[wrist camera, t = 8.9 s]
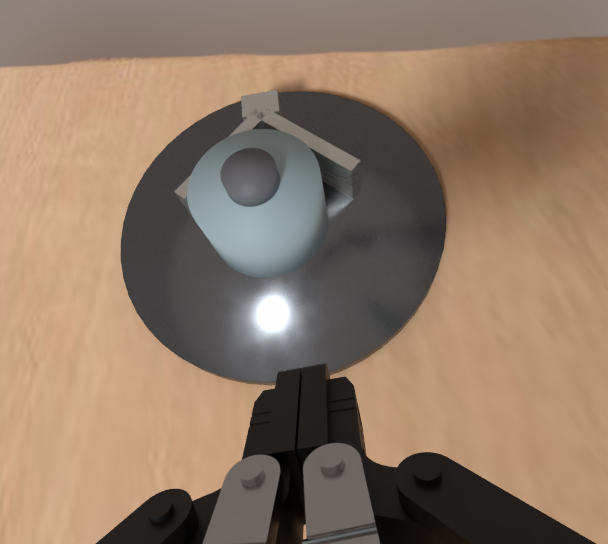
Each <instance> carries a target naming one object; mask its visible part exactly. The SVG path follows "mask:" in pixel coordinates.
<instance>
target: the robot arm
mask: <svg viewBox="0 0 608 544" xmlns="http://www.w3.org/2000/svg"><path fill="white" fill-rule="evenodd" d="M305 524H306V532H307V539H304V540H303V525H305ZM96 544H596V543H594V542H592V541H591V540H589V539H587V538H585V537H584V536H582V535H580V534H579V533H577V532H575V531H573V530H572V529H570V528H568V527H566V526H565V525H563V524H561V523H560V522H558V521H556V520H554V519H553V518H551V517H549V516H548V515H546V514H544V513H542V512H541V511H539V510H537V509H535V508H534V507H532V506H530V505H529V504H527V503H525V502H523V501H522V500H520V499H518V498H517V497H515V496H513V495H511V494H510V493H508V492H506V491H504V490H503V489H501V488H499V487H498V486H496V485H494V484H492V483H491V482H489V481H487V480H486V479H484V478H482V477H480V476H479V475H477V474H475V473H473V472H472V471H470V470H468V469H467V468H465V467H463V466H461V465H460V464H458V463H456V462H455V461H453V460H451V459H449V458H448V457H446V456H443V455H441V454H437V453H431V452H423V453H417V454H414V455H411V456H409V457H407V458H406V459H404V460H403V461H402V462H401V463H400V464H399V466H398V467H397V468H396V467H389V466H383V465H380V464H377V463H375V462H373V461H372V460H370V459H369V458H368V457H367V456H366V449H365V442H364V434H363V427H362V422H361V417H360V413H359V408H358V403H357V399H356V394H355V389H354V385H353V384H352V383H351V382H350V381H349V380H348V379H347V378H346V377H340V378H334V379H330V375H329V370H328V367H327V364H326V363H324V364H318V365H312V366H306V367H303V369H302V368H295V369H290V370H284V371H278V373H277V379H276V386H275V389H270V390H264V391H263V392H262V393H261V395H260V396H259V397H258V399H257V400H256V401H255V403H254V407H253V412H252V417H251V421H250V427H249V430H248V435H247V439H246V444H245V448H244V453H243V457H242V460H241V461H239V462H238V463H237V464H235V465H234V466H233V467H232V468H231V469H230V470H229V472H228V473H227V475H226V477H225V480H224V483H223V486H222V488H221V489H219V490H217V491H215V492H213V493H211V494H208V495H206V496H203V497H201V498H199V499H196V500H194V501H192V499H191V497H190V495H189V494H188V493H187V492H186V491H184V490H182V489H169V490H165V491H162V492H160V493H158V494H156V495H154V496H152V497H151V498H149V499H148V500H147V501H146V502H144V503H143V504H142V505H141V506H140V507H139V508H137V509H136V510H135V511H134V512H133V513H131V514H130V515H129V516H128V517H127V518H126V519H124V520H123V521H122V522H121V523H120V524H118V525H117V526H116V527H115V528H114V529H113V530H111V531H110V532H109V533H108V534H107V535H106V536H104V537H103V538H102V539H101V540H100V541H98V542H97V543H96Z"/></svg>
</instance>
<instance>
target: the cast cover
mask: <svg viewBox="0 0 608 544" xmlns="http://www.w3.org/2000/svg"><path fill="white" fill-rule="evenodd" d="M187 200H188V206H189V209H190V212H191V214H192V216H193V218H194V220H195V221H196V223H197V224H198V226H199V227H200V228H201V230H202V231H203V233H204V234H205V235H206V237H207V238H208V240H209V241H210V242H211V244H212V245H213V247H214V248H215V250H216V251H217V252H218V254H219V255H220V257H221V258H222V259H223V260H224V262H225V263H226V264H228V265H229V266H230V267H231V268H233V269H234V270H236V271H238V272H240V273H242V274H245V275H247V276H252V277H258V278H272V277H278V276H282V275H285V274H288V273H290V272H293V271H295V270H297V269H298V268H300V267H302V266H303V265H304V264H306V263H307V262H308V261H309V260H310V259H311V258H313V257H314V255H315V254H316V253H317V252H318V250H319V249H320V247H321V245H322V244H323V241H324V239H325V237H326V233H327V229H328V213H327V207H326V201H325V195H324V189H323V183H322V177H321V171H320V166H319V163H318V160H317V158H316V157H315V155H314V153H313V152H312V150H311V149H310V148H309V147H308V146H307V145H306V144H305V143H304V142H303V141H301V140H300V139H298V138H297V137H295V136H293V135H291V134H288V133H286V132H282V131H278V130H272V129H254V130H248V131H243V132H240V133H237V134H234V135H232V136H229V137H227V138H225V139H223V140H222V141H220V142H219V143H217V144H216V145H214V146H213V147H212V148H211V149H209V150H208V151H207V152H206V153H205V154H204V155H203V156H202V158H201V159H200V160H199V161H198V163H197V164H196V166H195V168H194V169H193V172H192V174H191V176H190V179H189V183H188V189H187Z"/></svg>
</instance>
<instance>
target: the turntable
mask: <svg viewBox="0 0 608 544" xmlns="http://www.w3.org/2000/svg"><path fill="white" fill-rule="evenodd" d="M254 129H272V130H278V131H282V132H286V133H288V134H291V135H293V136H295V137H297V138H298V139H300V140H301V141H303V142H304V143H305V144H306V145H307V146H308V147H309V148H310V149H311V150H312V152H313V153H314V155H315V157H316V158H317V160H318V163H319V166H320V171H321V177H322V183H323V189H324V195H325V201H326V207H327V213H328V229H327V233H326V237H325V239H324V241H323V244H322V245H321V247H320V249H319V250H318V252H317V253H316V254H315V255H314V257H313V258H311V259H310V260H309V261H308V262H307V263H306V264H304V265H303V266H302V267H300V268H298V269H297V270H295V271H293V272H290V273H288V274H285V275H282V276H278V277H272V278H258V277H252V276H247V275H245V274H242V273H240V272H238V271H236V270H234V269H233V268H231V267H230V266H229V265H228V264H226V263H225V262H224V260H223V259H222V258H221V257H220V255H219V254H218V252H217V251H216V250H215V248H214V247H213V245H212V244H211V242H210V241H209V240H208V238H207V237H206V235H205V234H204V233H203V231H202V230H201V228H200V227H199V226H198V224H197V223H196V221H195V220H194V218H193V216H192V214H191V212H190V209H189V206H188V200H187V189H188V183H189V179H190V176H191V174H192V172H193V169H194V168H195V166H196V164H197V163H198V161H199V160H200V159H201V158H202V156H203V155H204V154H205V153H206V152H207V151H208V150H209V149H211V148H212V147H213V146H214V145H216V144H217V143H219V142H220V141H222V140H223V139H225V138H227V137H229V136H232V135H234V134H237V133H240V132H243V131H248V130H254ZM445 232H446V215H445V204H444V199H443V194H442V189H441V186H440V184H439V181H438V178H437V175H436V172H435V170H434V169H433V167H432V165H431V163H430V161H429V159H428V157H427V156H426V154H425V153H424V152H423V150H422V149H421V148H420V146H419V145H418V144H417V142H416V141H415V140H414V139H413V138H412V137H411V136H410V135H409V134H408V133H407V132H406V131H405V130H404V129H403V128H402V127H400V126H399V125H398V124H397V123H395V122H394V121H393V120H391V119H390V118H389V117H387V116H385V115H384V114H382V113H380V112H378V111H377V110H375V109H373V108H371V107H369V106H366V105H364V104H362V103H359V102H357V101H354V100H350V99H347V98H344V97H340V96H335V95H330V94H324V93H315V92H282V93H278V91H277V90H273V91H268V92H262V93H257V94H252V95H246V96H241V101H240V102H237V103H234V104H231V105H228V106H226V107H224V108H222V109H220V110H217V111H215V112H213V113H211V114H209V115H208V116H206V117H204V118H202V119H201V120H199V121H197V122H196V123H194V124H193V125H192V126H190V127H189V128H187V129H186V130H185V131H183V132H182V133H181V134H180V135H178V136H177V137H176V138H175V139H174V140H173V141H172V142H170V143H169V144H168V145H167V146H166V147H165V148H164V150H163V151H162V152H161V153H160V154H159V155H158V156H157V157H156V158H155V160H154V161H153V162H152V164H151V165H150V166H149V168H148V169H147V170H146V172H145V173H144V175H143V177H142V179H141V180H140V182H139V184H138V185H137V187H136V189H135V191H134V194H133V196H132V198H131V201H130V203H129V205H128V209H127V213H126V216H125V220H124V223H123V230H122V237H121V264H122V271H123V278H124V281H125V284H126V288H127V291H128V294H129V297H130V299H131V301H132V303H133V305H134V307H135V309H136V312H137V313H138V315H139V316H140V318H141V319H142V321H143V322H144V324H145V325H146V326H147V328H148V329H149V330H150V331H151V332H152V333H153V334H154V336H155V337H156V338H157V339H158V340H159V341H160V342H161V343H162V344H163V345H165V346H166V347H167V348H168V349H170V350H171V351H172V352H174V353H175V354H176V355H178V356H179V357H181V358H182V359H184V360H186V361H188V362H189V363H191V364H193V365H195V366H197V367H198V368H200V369H202V370H204V371H206V372H209V373H211V374H214V375H217V376H219V377H222V378H225V379H229V380H234V381H238V382H243V383H247V384H261V385H276V379H277V373H278V371H284V370H290V369H295V368H302V369H303V367H306V366H312V365H318V364H324V363H326V364H327V367H328V370H329V375H332V374H335V373H338V372H341V371H343V370H345V369H347V368H349V367H351V366H353V365H355V364H357V363H359V362H361V361H363V360H364V359H366V358H367V357H369V356H370V355H372V354H373V353H375V352H376V351H378V350H379V349H381V348H382V347H383V346H384V345H386V344H387V343H388V342H389V341H390V340H391V339H392V338H393V337H395V336H396V335H397V334H398V333H399V332H400V331H401V330H402V329H403V328H404V326H405V325H406V324H407V323H408V322H409V321H410V319H411V318H412V317H413V316H414V315H415V313H416V312H417V310H418V308H419V307H420V305H421V304H422V302H423V301H424V299H425V297H426V296H427V294H428V291H429V289H430V287H431V285H432V282H433V280H434V278H435V276H436V273H437V270H438V266H439V263H440V259H441V256H442V252H443V248H444V240H445Z"/></svg>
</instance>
